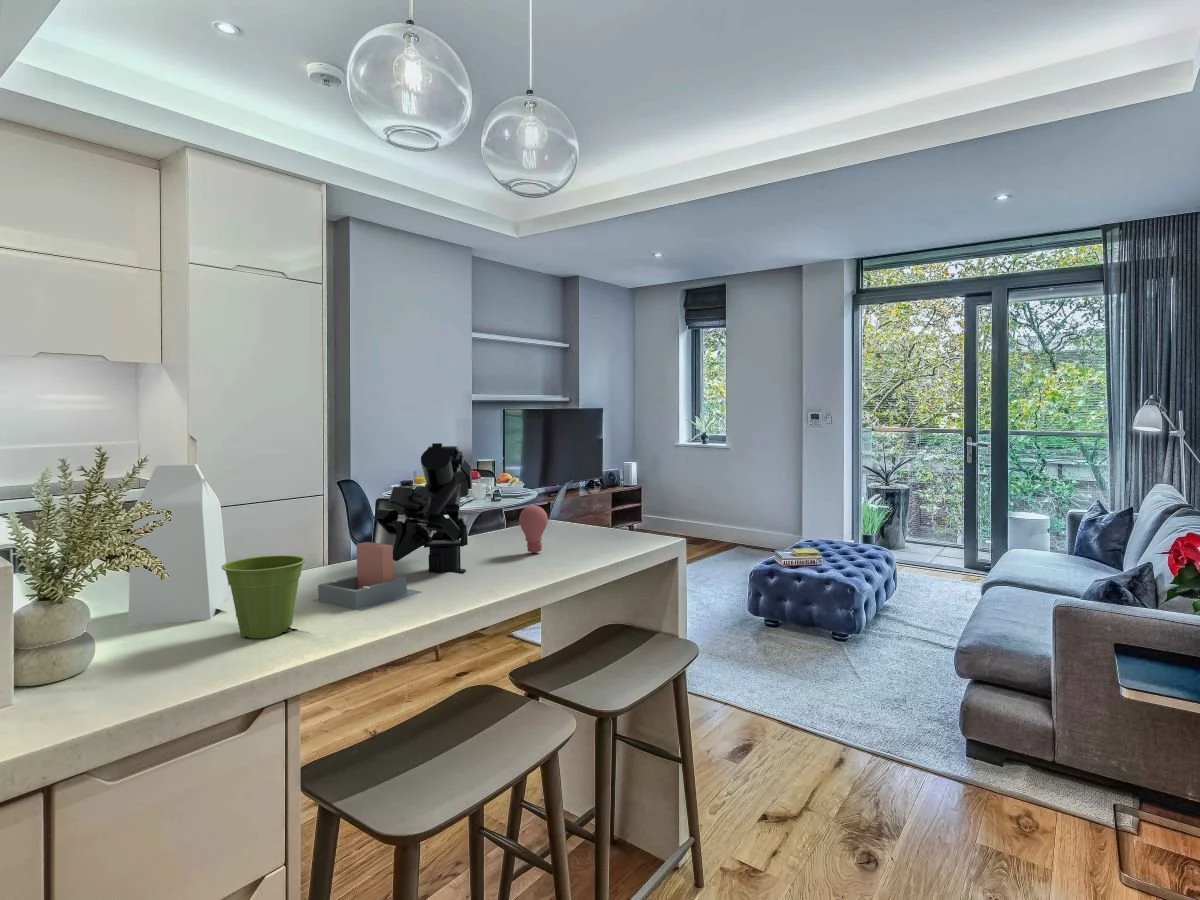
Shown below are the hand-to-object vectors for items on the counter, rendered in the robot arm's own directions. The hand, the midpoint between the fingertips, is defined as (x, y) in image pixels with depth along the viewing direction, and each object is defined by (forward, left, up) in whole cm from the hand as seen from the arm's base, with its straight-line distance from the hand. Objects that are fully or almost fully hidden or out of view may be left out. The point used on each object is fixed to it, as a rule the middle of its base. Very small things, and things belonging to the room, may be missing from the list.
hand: (394, 559), depth 125 cm
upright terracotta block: (+4, 0, -6) cm, 7 cm away
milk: (+27, -23, -7) cm, 36 cm away
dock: (+6, 0, -7) cm, 9 cm away
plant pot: (+26, 0, -7) cm, 27 cm away
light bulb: (-44, +1, -7) cm, 45 cm away
